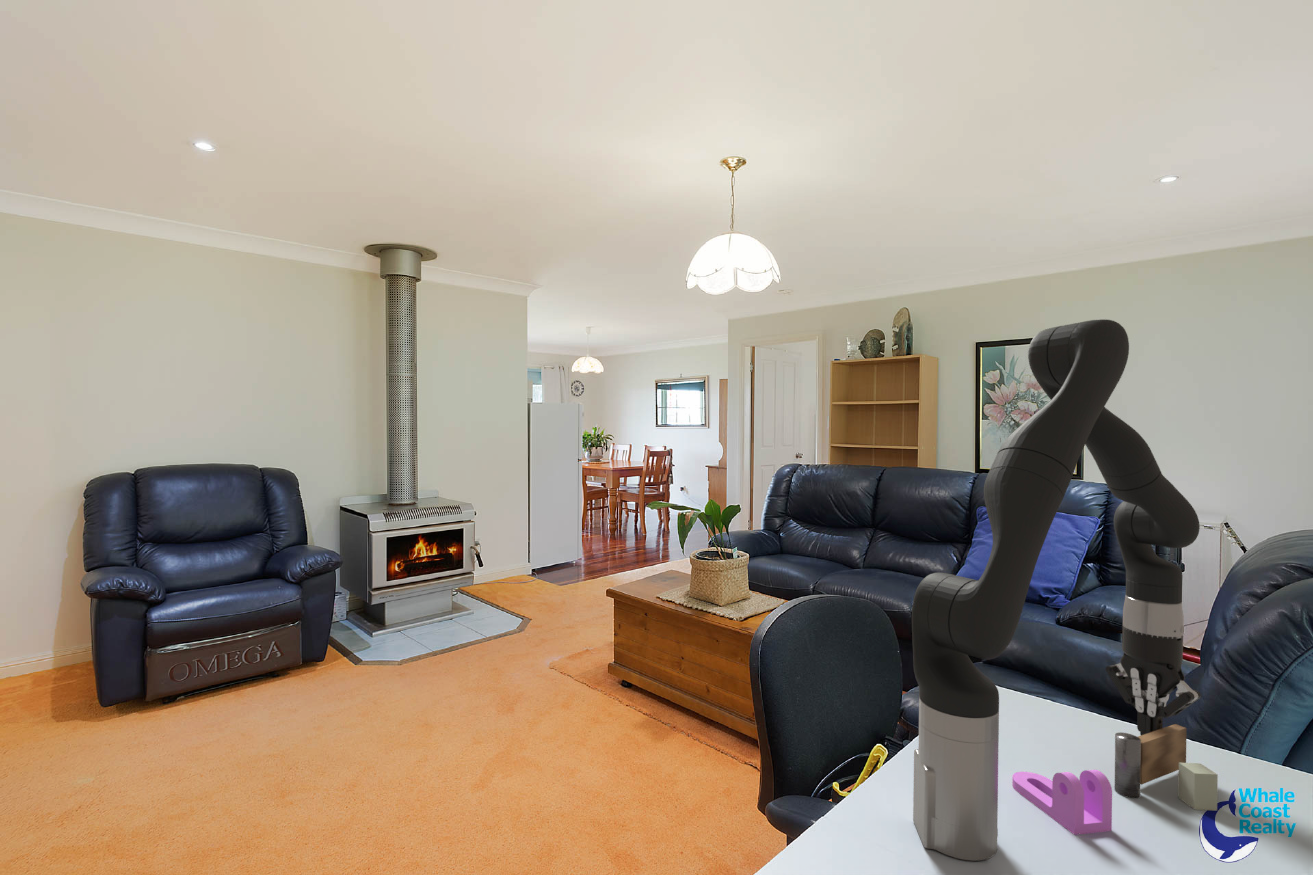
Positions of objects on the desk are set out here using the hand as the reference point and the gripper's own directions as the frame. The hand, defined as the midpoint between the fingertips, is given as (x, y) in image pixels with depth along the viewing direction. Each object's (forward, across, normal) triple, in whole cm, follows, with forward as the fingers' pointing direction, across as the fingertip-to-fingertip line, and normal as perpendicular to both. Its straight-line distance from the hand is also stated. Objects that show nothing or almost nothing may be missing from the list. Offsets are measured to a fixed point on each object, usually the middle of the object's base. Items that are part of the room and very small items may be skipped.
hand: (1149, 736), depth 101 cm
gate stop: (+4, +9, -5) cm, 11 cm away
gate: (+4, +3, -3) cm, 6 cm away
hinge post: (+4, +4, -11) cm, 13 cm away
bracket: (+5, +2, -24) cm, 25 cm away
